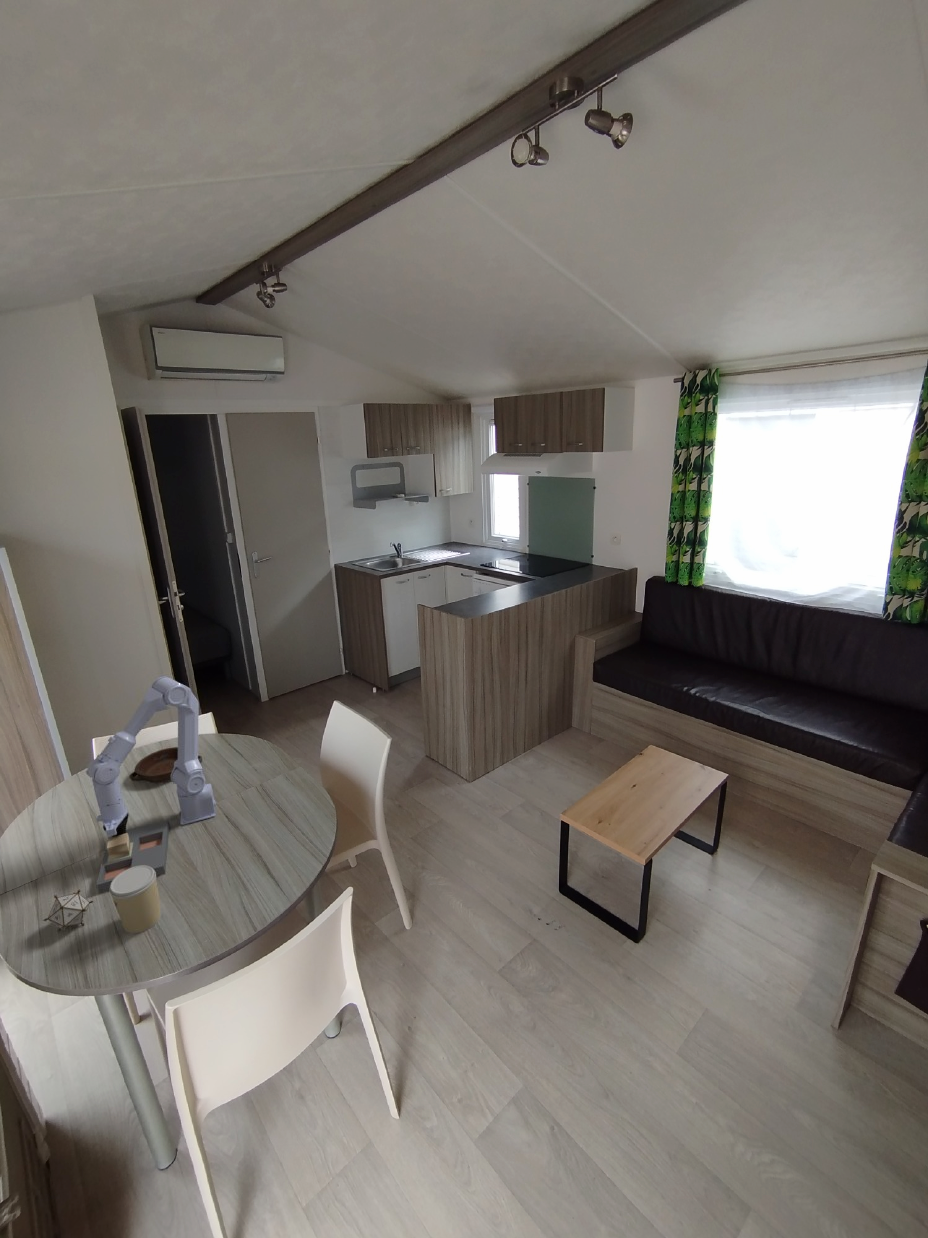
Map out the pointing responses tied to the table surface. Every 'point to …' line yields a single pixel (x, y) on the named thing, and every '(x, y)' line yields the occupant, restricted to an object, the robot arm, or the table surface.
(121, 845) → the maple block
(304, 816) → the table surface
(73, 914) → the game die
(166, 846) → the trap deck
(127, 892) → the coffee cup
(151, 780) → the dish
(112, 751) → the robot arm
